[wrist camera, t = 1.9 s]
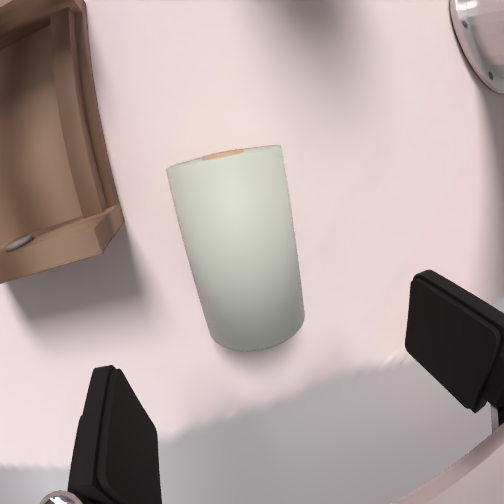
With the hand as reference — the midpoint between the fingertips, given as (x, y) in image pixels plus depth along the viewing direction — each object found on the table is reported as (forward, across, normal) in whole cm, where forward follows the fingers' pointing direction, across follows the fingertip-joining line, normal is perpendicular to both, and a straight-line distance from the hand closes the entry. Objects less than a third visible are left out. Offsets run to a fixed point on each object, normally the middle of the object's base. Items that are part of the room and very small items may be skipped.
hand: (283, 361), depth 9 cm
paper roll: (+9, -1, 0) cm, 9 cm away
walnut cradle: (+12, +11, -10) cm, 20 cm away
